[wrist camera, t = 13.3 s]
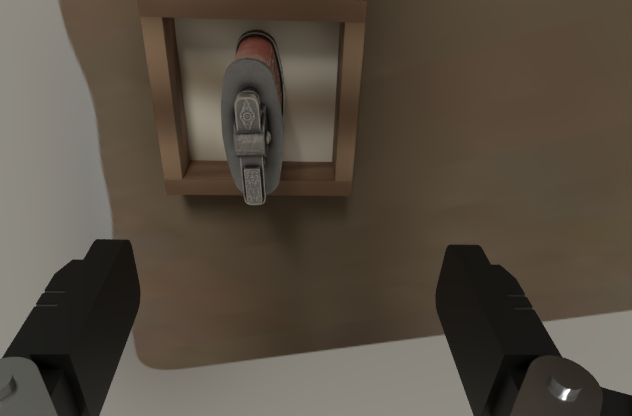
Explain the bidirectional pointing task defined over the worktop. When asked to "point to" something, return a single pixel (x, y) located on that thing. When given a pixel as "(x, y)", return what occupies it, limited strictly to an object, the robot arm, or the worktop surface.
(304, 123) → the walnut holder
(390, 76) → the worktop surface
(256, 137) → the lighter
